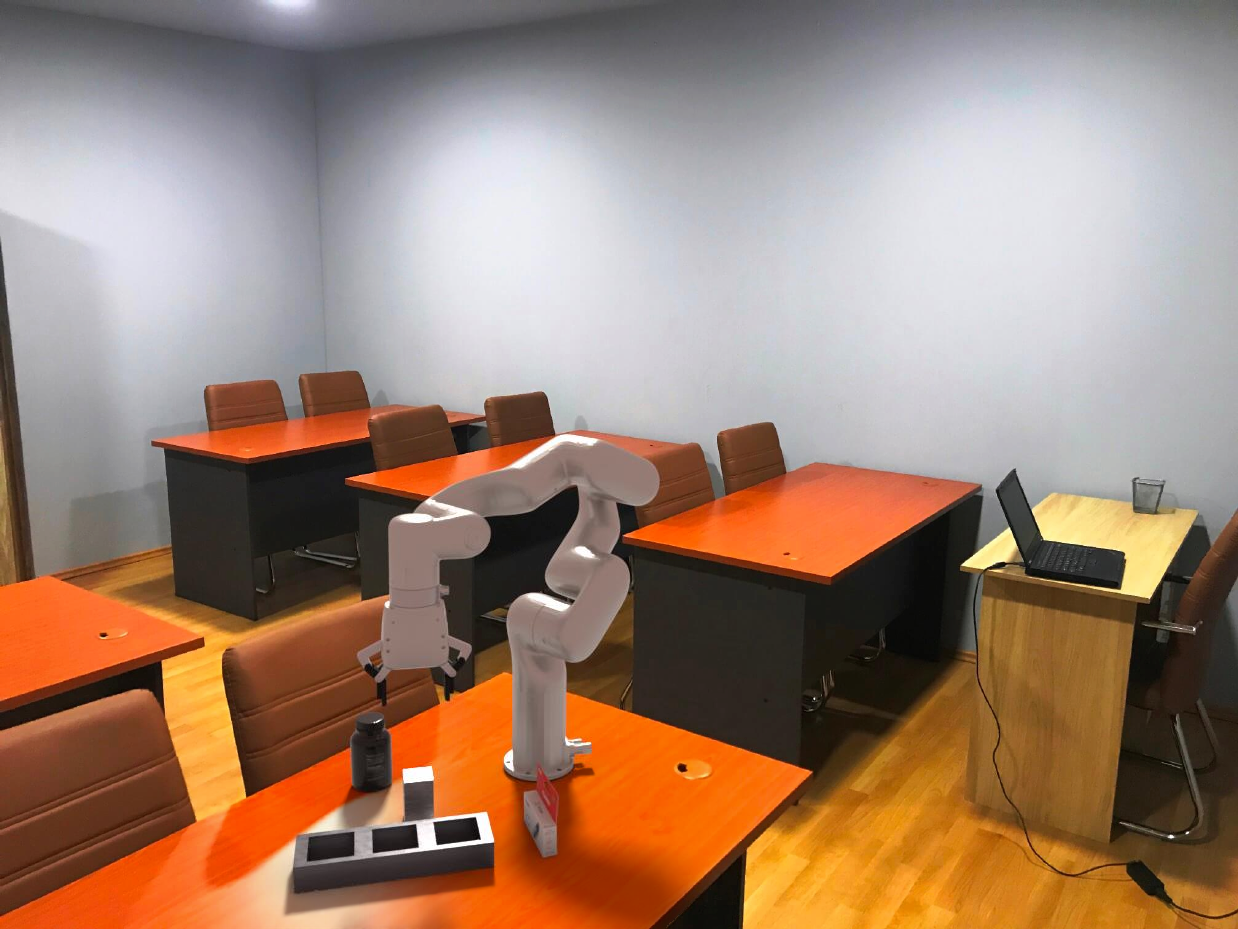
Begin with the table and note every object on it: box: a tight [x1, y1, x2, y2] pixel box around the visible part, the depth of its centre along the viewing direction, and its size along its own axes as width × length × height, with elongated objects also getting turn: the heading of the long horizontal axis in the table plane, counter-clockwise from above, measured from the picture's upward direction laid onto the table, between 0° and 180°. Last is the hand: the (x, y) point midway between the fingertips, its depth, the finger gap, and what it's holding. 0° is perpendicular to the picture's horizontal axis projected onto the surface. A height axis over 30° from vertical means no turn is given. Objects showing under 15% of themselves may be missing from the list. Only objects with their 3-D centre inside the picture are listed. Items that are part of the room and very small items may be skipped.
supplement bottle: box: [349, 711, 393, 793], centre depth 163 cm, size 7×7×12 cm
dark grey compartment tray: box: [292, 811, 495, 894], centre depth 141 cm, size 28×8×4 cm, turn 105°
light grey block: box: [402, 766, 435, 822], centre depth 152 cm, size 4×4×8 cm
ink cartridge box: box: [523, 763, 560, 858], centre depth 148 cm, size 2×11×10 cm, turn 21°
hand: (415, 700), depth 149 cm, fingers open, 9 cm apart
